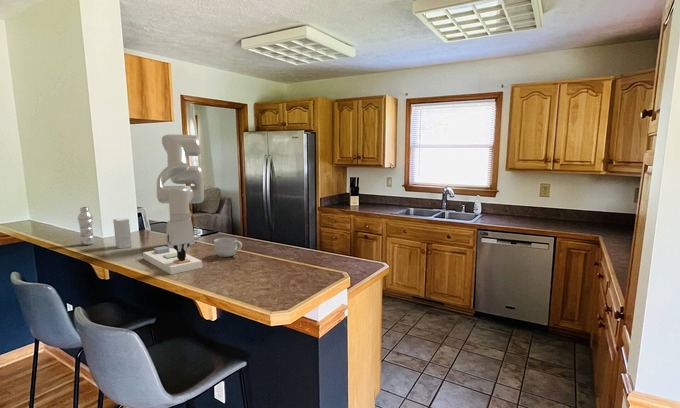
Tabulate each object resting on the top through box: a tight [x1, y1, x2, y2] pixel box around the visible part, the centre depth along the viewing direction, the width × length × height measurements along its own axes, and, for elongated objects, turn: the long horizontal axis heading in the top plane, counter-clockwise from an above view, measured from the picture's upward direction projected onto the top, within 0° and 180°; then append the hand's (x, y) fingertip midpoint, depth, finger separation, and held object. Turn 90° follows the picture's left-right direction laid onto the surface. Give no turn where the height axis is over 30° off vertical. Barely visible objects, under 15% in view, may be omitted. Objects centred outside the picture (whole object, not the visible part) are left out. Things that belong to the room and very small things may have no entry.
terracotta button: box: [173, 258, 190, 264], centre depth 153 cm, size 5×5×2 cm
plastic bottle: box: [77, 206, 96, 246], centre depth 191 cm, size 6×7×20 cm
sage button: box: [163, 253, 177, 259], centre depth 160 cm, size 5×5×2 cm
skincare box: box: [112, 217, 133, 250], centre depth 188 cm, size 8×6×15 cm
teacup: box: [213, 237, 243, 258], centre depth 173 cm, size 14×11×8 cm
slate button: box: [153, 245, 169, 254], centre depth 168 cm, size 5×5×2 cm
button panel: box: [142, 248, 203, 275], centre depth 161 cm, size 13×32×3 cm, turn 46°
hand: (181, 259), depth 153 cm, fingers closed
